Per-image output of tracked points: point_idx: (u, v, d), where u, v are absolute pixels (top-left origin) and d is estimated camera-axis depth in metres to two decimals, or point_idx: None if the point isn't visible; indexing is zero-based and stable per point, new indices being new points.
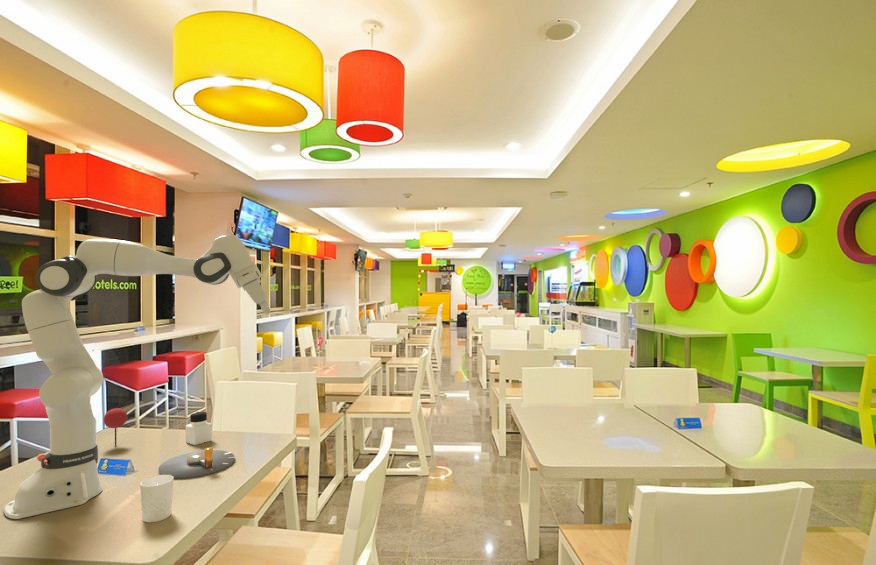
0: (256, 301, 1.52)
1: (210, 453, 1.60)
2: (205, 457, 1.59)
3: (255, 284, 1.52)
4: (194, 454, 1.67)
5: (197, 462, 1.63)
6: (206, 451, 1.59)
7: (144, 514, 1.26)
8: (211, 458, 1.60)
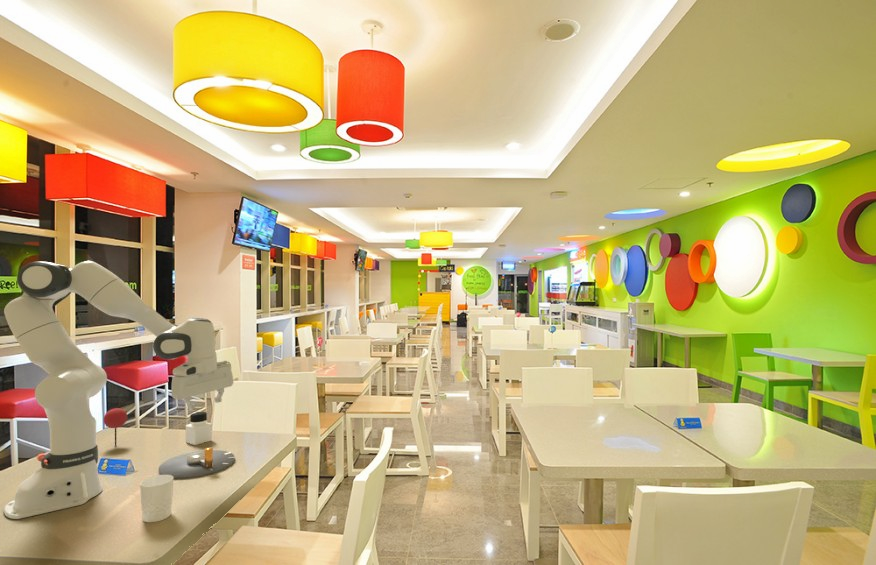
0: (172, 396, 1.51)
1: (210, 453, 1.60)
2: (205, 457, 1.59)
3: (177, 381, 1.50)
4: (194, 454, 1.67)
5: (197, 462, 1.63)
6: (206, 451, 1.59)
7: (144, 514, 1.26)
8: (211, 458, 1.60)
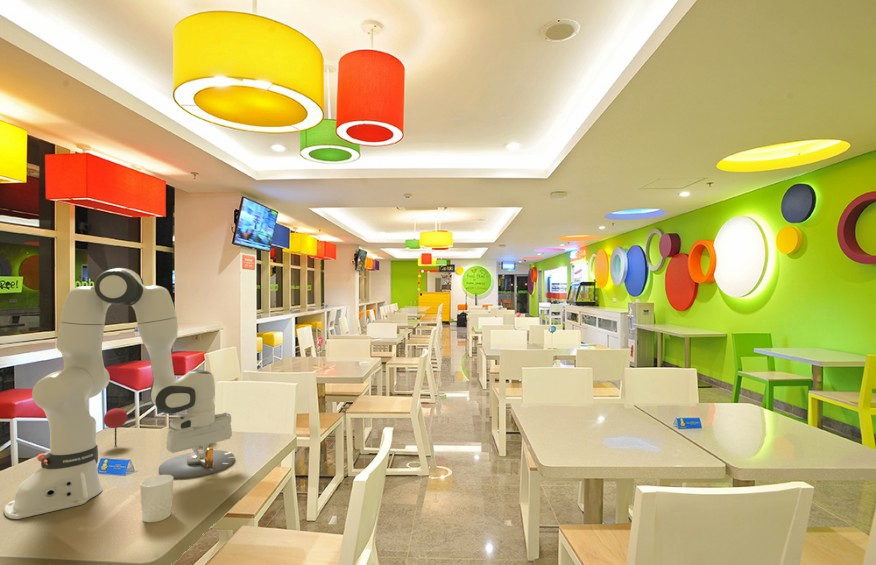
0: (167, 449, 1.52)
1: (211, 453, 1.60)
2: (205, 457, 1.60)
3: (171, 434, 1.51)
4: (194, 454, 1.67)
5: (197, 462, 1.63)
6: (207, 451, 1.59)
7: (144, 514, 1.26)
8: (211, 458, 1.60)
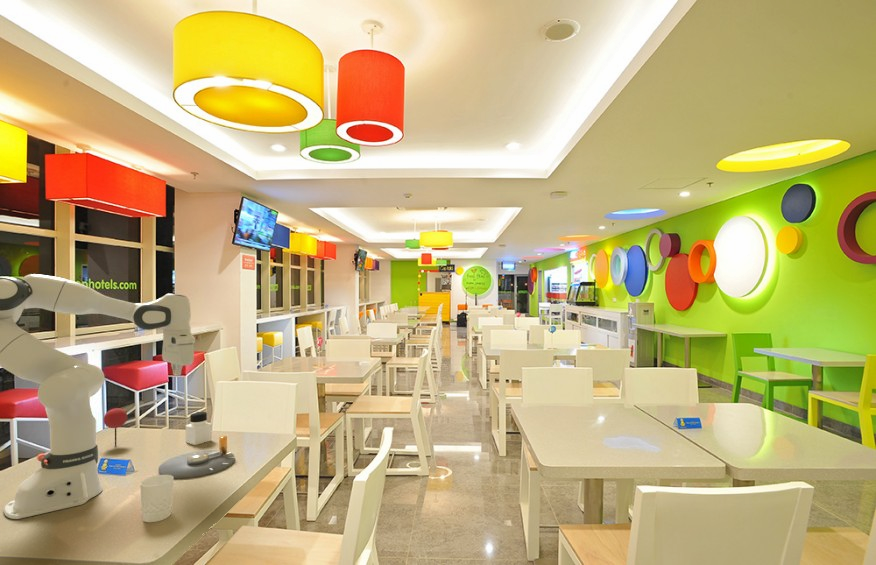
0: (184, 363, 1.64)
1: None
2: (225, 444, 1.73)
3: (190, 348, 1.67)
4: (193, 456, 1.65)
5: (208, 457, 1.68)
6: (226, 438, 1.73)
7: (144, 514, 1.26)
8: None
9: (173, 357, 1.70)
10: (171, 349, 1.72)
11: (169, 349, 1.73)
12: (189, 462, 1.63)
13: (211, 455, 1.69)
